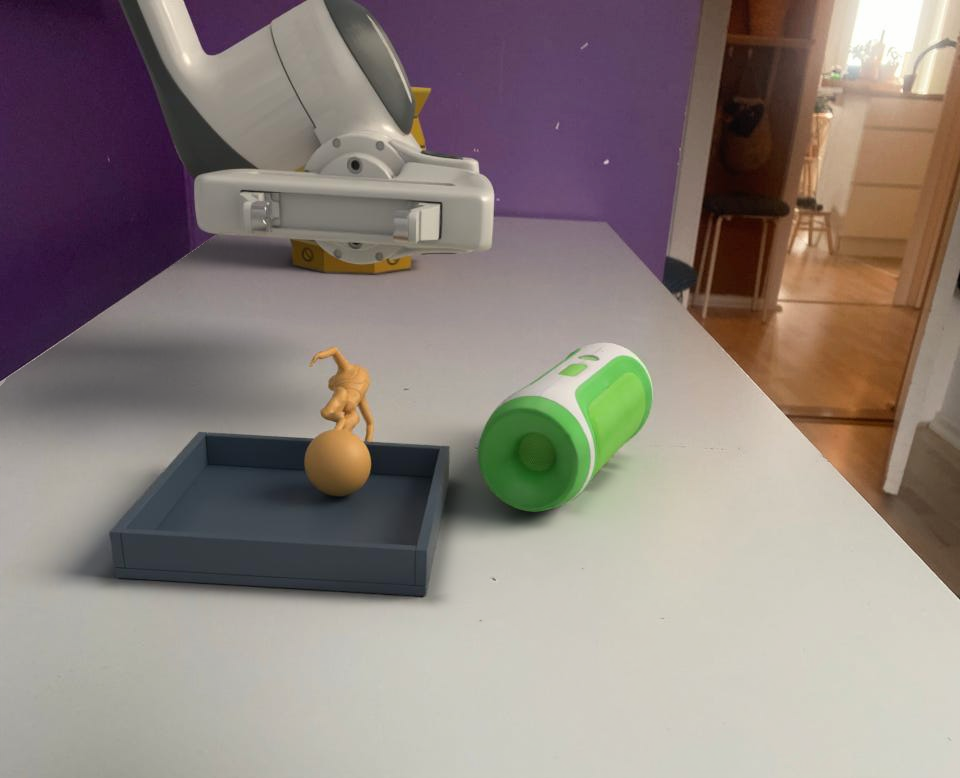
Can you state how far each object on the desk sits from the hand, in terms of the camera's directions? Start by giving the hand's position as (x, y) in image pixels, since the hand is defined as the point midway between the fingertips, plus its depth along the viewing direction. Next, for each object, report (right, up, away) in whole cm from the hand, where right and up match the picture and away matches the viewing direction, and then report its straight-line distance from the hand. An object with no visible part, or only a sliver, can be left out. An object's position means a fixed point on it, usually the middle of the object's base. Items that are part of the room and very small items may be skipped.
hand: (329, 224), depth 65 cm
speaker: (+15, -15, +5) cm, 22 cm away
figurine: (+2, -16, -4) cm, 17 cm away
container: (-7, +23, +71) cm, 75 cm away
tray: (-1, -19, -4) cm, 20 cm away
